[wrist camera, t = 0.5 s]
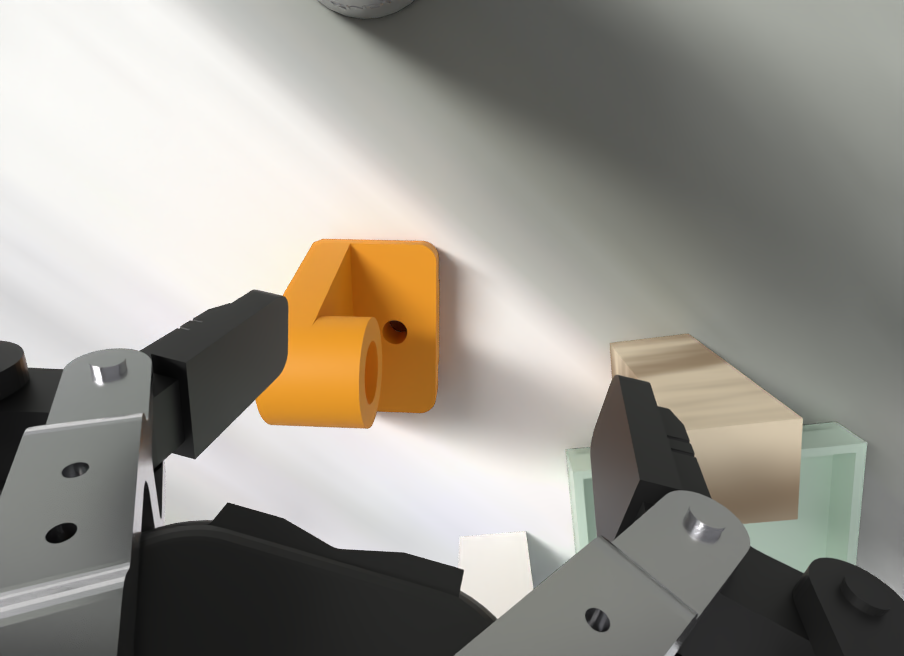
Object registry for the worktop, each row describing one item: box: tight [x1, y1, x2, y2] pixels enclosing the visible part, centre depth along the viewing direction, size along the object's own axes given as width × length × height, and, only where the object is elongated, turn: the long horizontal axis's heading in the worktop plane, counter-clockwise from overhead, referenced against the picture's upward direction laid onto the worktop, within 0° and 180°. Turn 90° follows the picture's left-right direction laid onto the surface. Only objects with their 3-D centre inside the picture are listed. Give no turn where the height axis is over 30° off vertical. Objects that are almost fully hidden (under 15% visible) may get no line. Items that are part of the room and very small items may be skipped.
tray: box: [566, 422, 867, 573], centre depth 36 cm, size 18×18×3 cm
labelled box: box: [458, 531, 533, 619], centre depth 33 cm, size 5×5×12 cm
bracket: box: [256, 239, 440, 429], centre depth 28 cm, size 11×7×12 cm
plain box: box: [610, 334, 803, 524], centre depth 28 cm, size 5×5×12 cm
